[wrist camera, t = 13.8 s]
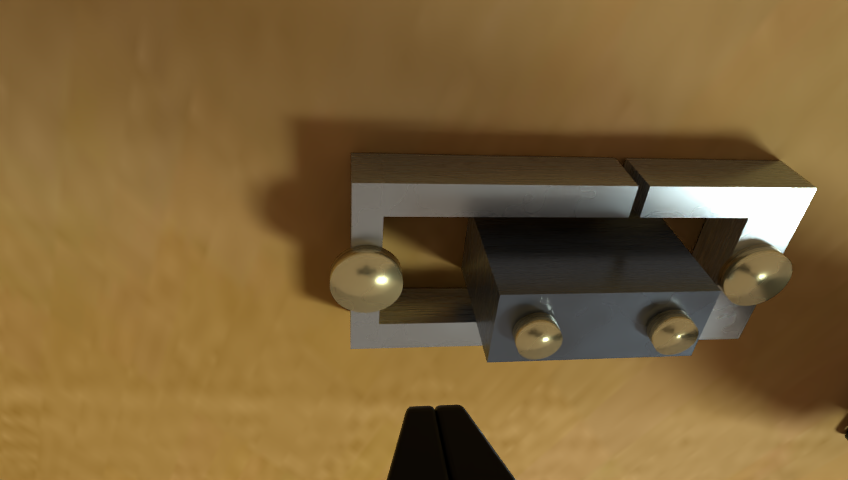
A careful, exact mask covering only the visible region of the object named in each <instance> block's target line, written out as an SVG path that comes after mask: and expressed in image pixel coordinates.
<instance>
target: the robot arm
mask: <svg viewBox="0 0 848 480" xmlns="http://www.w3.org/2000/svg"><path fill="white" fill-rule="evenodd" d="M845 438H846V439H847V440H848V431H847V433H846V434H845ZM387 480H516V479H515V478H514V477H513V475H512V474H511V473H510V471H509V470H508V468H507V467H506V466H505V464H504V463H503V461H502V460H501V459H500V457H499V456H498V454H497V453H496V452H495V450H494V449H493V447H492V446H491V445H490V443H489V442H488V440H487V439H486V438H485V436H484V435H483V433H482V432H481V431H480V429H479V428H478V427H477V425H476V424H475V422H474V421H473V420H472V418H471V417H470V415H469V414H468V413H467V411H466V410H465V409H464V408H463V407H462V406H460V405H440V406H437V407H436V408H435V410H434V408H433V407H432V406H414V407H409V408H408V409H407V411H406V413H405V417H404V420H403V424H402V428H401V431H400V435H399V438H398V442H397V445H396V449H395V453H394V456H393V460H392V463H391V467H390V470H389V474H388V478H387Z"/></svg>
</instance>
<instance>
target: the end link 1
mask: <svg viewBox="0 0 848 480" xmlns="http://www.w3.org/2000/svg"><path fill="white" fill-rule="evenodd" d="M638 187H639V186H638V185H637V184H636V182H635V181H634V180H633V179H632V178H631V176H630V175H629V174H628V173H627V171H626V170H625V169H624V168H623V167H622V165H621V164H620V163H619V162H618V161H617V159H616V158H591V157H536V156H481V155H425V154H370V153H351V248H350V249H348V250H346V251H344V252H343V253H341V254H340V255H339V256H338V257H337V258H336V259H335V261H334V262H333V264H332V266H331V270H330V291H331V294H332V296H333V298H334V299H335V300H336V302H337V303H338V304H340V305H341V306H342V307H344V308H346V309H348V310H350V332H351V349H365V348H403V347H441V346H479V345H482V341H481V338H480V334H479V330H478V327H477V323H476V319H475V316H474V312H473V308H472V305H471V301H470V297H469V294H468V290H467V288H403V277H402V270H401V265H400V263H399V261H398V259H397V258H396V257H395V256H394V255H393V254H392V253H391V252H389V251H388V250H386V249H384V248H382V240H383V217H617V218H629V215H630V211H631V208H632V205H633V202H634V199H635V196H636V193H637V190H638Z"/></svg>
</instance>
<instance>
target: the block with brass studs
mask: <svg viewBox="0 0 848 480" xmlns="http://www.w3.org/2000/svg"><path fill="white" fill-rule="evenodd" d="M462 272H463V275H464V279H465V283H466V286H467V290H468V294H469V297H470V301H471V305H472V308H473V312H474V316H475V319H476V323H477V327H478V330H479V334H480V338H481V341H482V345H483V349H484V352H485V356H486V360H487V362H513V361H542V360H572V359H602V358H632V357H662V356H691V355H692V353H693V350H694V348H695V346H696V344H697V342H698V340H699V338H700V335H701V333H702V331H703V329H704V327H705V325H706V323H707V320H708V318H709V316H710V314H711V312H712V310H713V308H714V306H715V303H716V301H717V299H718V297H719V295H720V293H721V290H720V289H719V288H718V286H717V285H716V284H715V283H714V282H713V280H712V279H711V278H710V277H709V275H708V274H707V273H706V272H705V271H704V269H703V268H702V267H701V266H700V264H699V263H698V262H697V261H696V260H695V258H694V257H693V256H692V255H691V253H690V252H689V251H688V250H687V249H686V247H685V246H684V245H683V244H682V242H681V241H680V240H679V239H678V238H677V236H676V235H675V234H674V233H673V231H672V230H671V229H670V228H669V227H668V225H667V224H666V223H665V222H664V220H663V219H662V218H640V217H639V216H638V215H637V213H636V212H635V211H634V209H633V208H631V211H630V215H629V218H617V217H469V218H468V225H467V232H466V240H465V247H464V254H463V261H462Z"/></svg>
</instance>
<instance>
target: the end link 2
mask: <svg viewBox="0 0 848 480" xmlns="http://www.w3.org/2000/svg"><path fill="white" fill-rule="evenodd" d="M623 168H624V169H625V170H626V171H627V173H628V174H629V175H630V176H631V178H632V179H633V180H634V181H635V182H636V184H637V185H638V186H639V187H638V190H637V193H636V196H635V199H634V202H633V205H632V208H633V209H634V211H635V212H636V213H637V215H638V216H639V217H640V218H707V219H706V221H705V224H704V226H703V229H702V231H701V233H700V236H699V238H698V241H697V243H696V246H695V248H694V250H693V253H692V256H693V257H694V258H695V260H696V261H697V262H698V263H699V264H700V266H701V267H702V268H703V269H704V271H705V272H706V273H707V274H708V275H709V277H710V278H711V279H712V280H713V282H714V283H715V284H716V285H717V286H718V288H719V289H720V290H721V293H720V295H719V297H718V299H717V301H716V303H715V306H714V308H713V310H712V312H711V314H710V316H709V318H708V320H707V323H706V325H705V327H704V329H703V331H702V333H701V335H700V338H699V340H707V339H739V337H740V335H741V333H742V331H743V329H744V327H745V325H746V324H747V322H748V320H749V318H750V316H751V314H752V312H753V310H754V308H755V306H756V304H759V303H762V302H765V301H767V300H769V299H771V298H772V297H774V296H775V295H776V294H778V293H779V292H780V291H781V290H782V289H783V288H784V287H785V286H786V284H787V283H788V281H789V280H790V278H791V275H792V264H791V262H790V261H789V259H788V258H787V257H786V256H785V255H784V254H783V253H784V251H785V249H786V247H787V245H788V243H789V241H790V239H791V237H792V235H793V234H794V232H795V230H796V228H797V226H798V224H799V222H800V220H801V218H802V216H803V214H804V212H805V211H806V209H807V207H808V205H809V203H810V201H811V199H812V197H813V195H814V193H815V191H816V189H817V188H816V187H815V186H813V185H812V184H811V183H810V182H808V181H807V180H806V179H804V178H803V177H802V176H800V175H799V174H798V173H796V172H795V171H794V170H792V169H791V168H790V167H789V166H787V165H786V164H785V163H783V162H782V161H757V160H702V159H646V158H626V160H625V164H624V167H623Z"/></svg>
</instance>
